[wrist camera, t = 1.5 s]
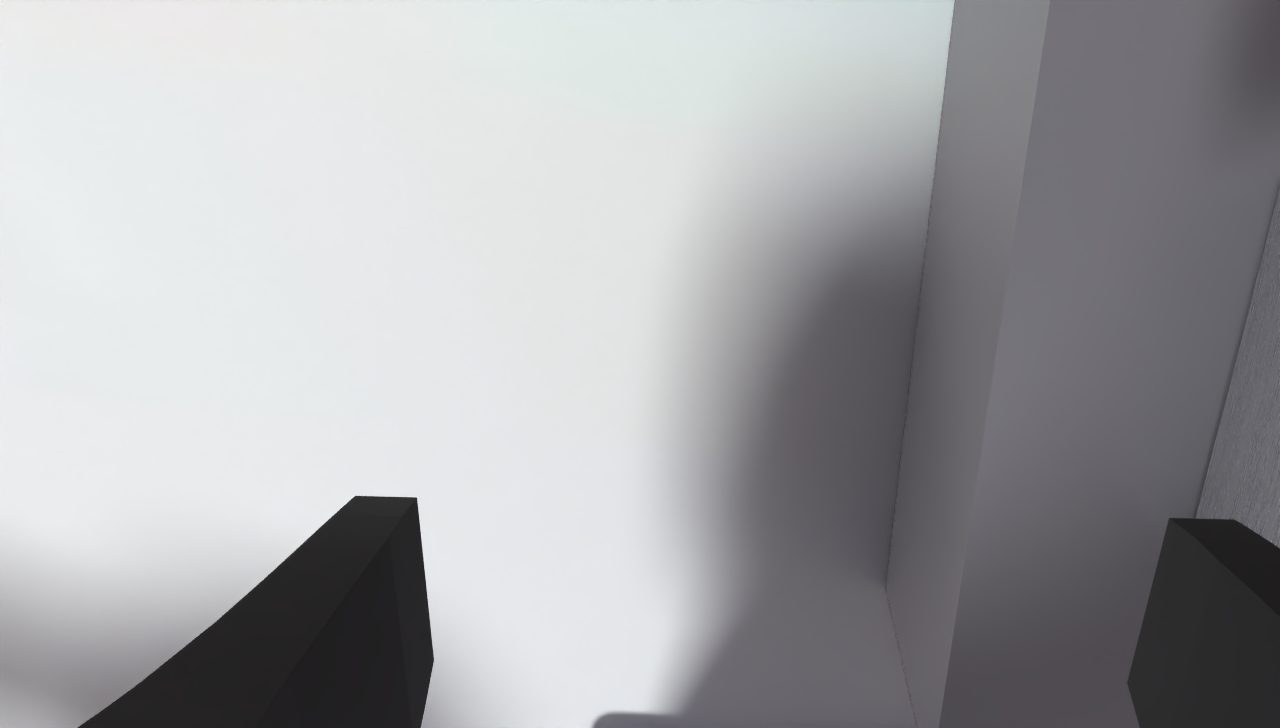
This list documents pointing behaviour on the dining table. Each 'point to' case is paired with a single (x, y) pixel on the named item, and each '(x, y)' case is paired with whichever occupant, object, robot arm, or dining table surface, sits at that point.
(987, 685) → the socket block
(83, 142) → the dining table surface
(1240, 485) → the clip
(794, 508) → the dining table surface
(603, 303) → the dining table surface
